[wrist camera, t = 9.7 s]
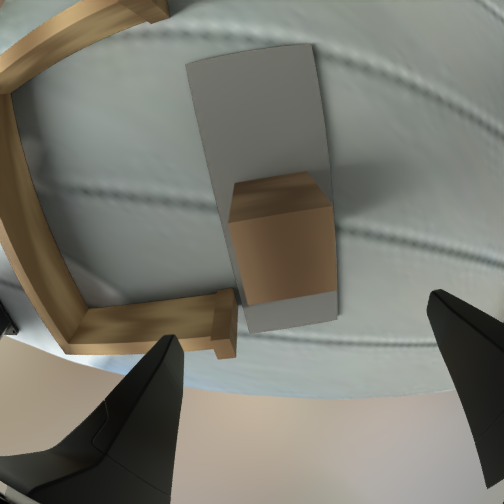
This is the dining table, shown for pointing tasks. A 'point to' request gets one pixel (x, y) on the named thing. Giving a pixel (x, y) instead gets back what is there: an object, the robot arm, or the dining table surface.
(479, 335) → the robot arm
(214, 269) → the dining table surface
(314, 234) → the block
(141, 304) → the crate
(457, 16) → the dining table surface
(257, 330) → the mat
